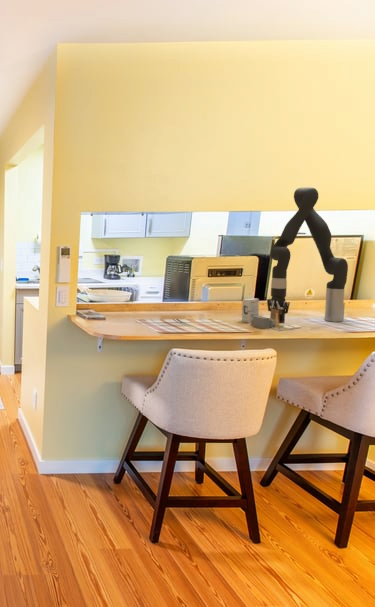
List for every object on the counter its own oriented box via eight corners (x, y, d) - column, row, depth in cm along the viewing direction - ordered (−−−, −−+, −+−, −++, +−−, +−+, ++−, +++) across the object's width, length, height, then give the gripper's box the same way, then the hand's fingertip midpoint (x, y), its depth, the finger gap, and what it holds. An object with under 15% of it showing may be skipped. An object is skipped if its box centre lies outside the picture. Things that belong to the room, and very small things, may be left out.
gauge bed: (275, 322, 298) (276, 312, 298) (301, 327, 284) (302, 317, 283) (248, 325, 288) (249, 315, 287) (274, 331, 273) (274, 320, 272)
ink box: (249, 323, 294) (250, 300, 292) (241, 321, 297) (242, 299, 295) (258, 321, 300) (259, 298, 299) (250, 320, 303) (251, 297, 302)
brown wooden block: (277, 321, 292) (278, 307, 291) (284, 323, 288) (285, 309, 287) (270, 322, 289) (270, 308, 288) (277, 323, 285) (277, 309, 284)
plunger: (268, 324, 290) (269, 310, 289) (288, 328, 280) (288, 314, 279) (262, 324, 288) (263, 310, 287) (282, 329, 277) (282, 314, 276)
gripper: (294, 288, 283) (293, 322, 285) (274, 285, 294) (272, 318, 297) (283, 289, 278) (282, 323, 281) (263, 285, 290) (261, 319, 292)
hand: (277, 320), depth 289 cm, fingers closed on brown wooden block, 5 cm apart
